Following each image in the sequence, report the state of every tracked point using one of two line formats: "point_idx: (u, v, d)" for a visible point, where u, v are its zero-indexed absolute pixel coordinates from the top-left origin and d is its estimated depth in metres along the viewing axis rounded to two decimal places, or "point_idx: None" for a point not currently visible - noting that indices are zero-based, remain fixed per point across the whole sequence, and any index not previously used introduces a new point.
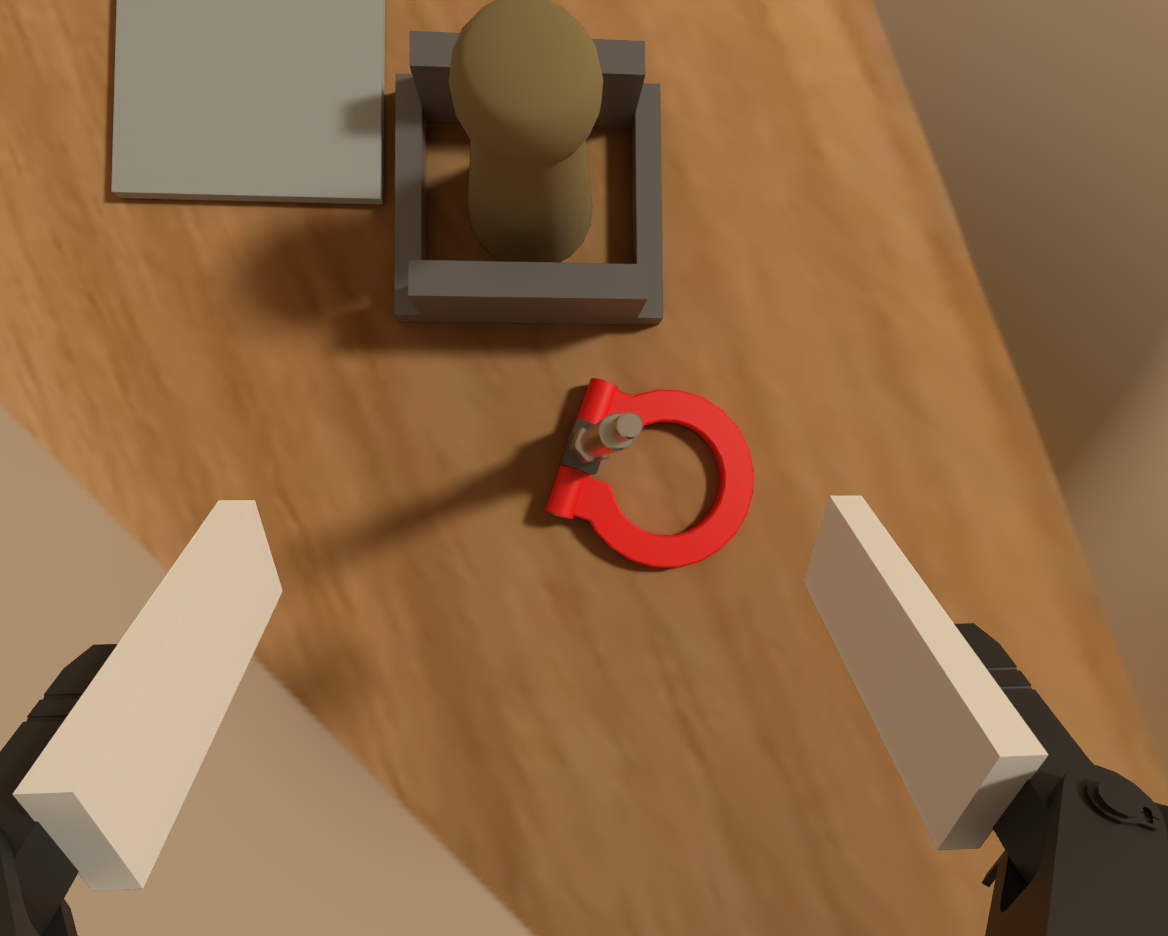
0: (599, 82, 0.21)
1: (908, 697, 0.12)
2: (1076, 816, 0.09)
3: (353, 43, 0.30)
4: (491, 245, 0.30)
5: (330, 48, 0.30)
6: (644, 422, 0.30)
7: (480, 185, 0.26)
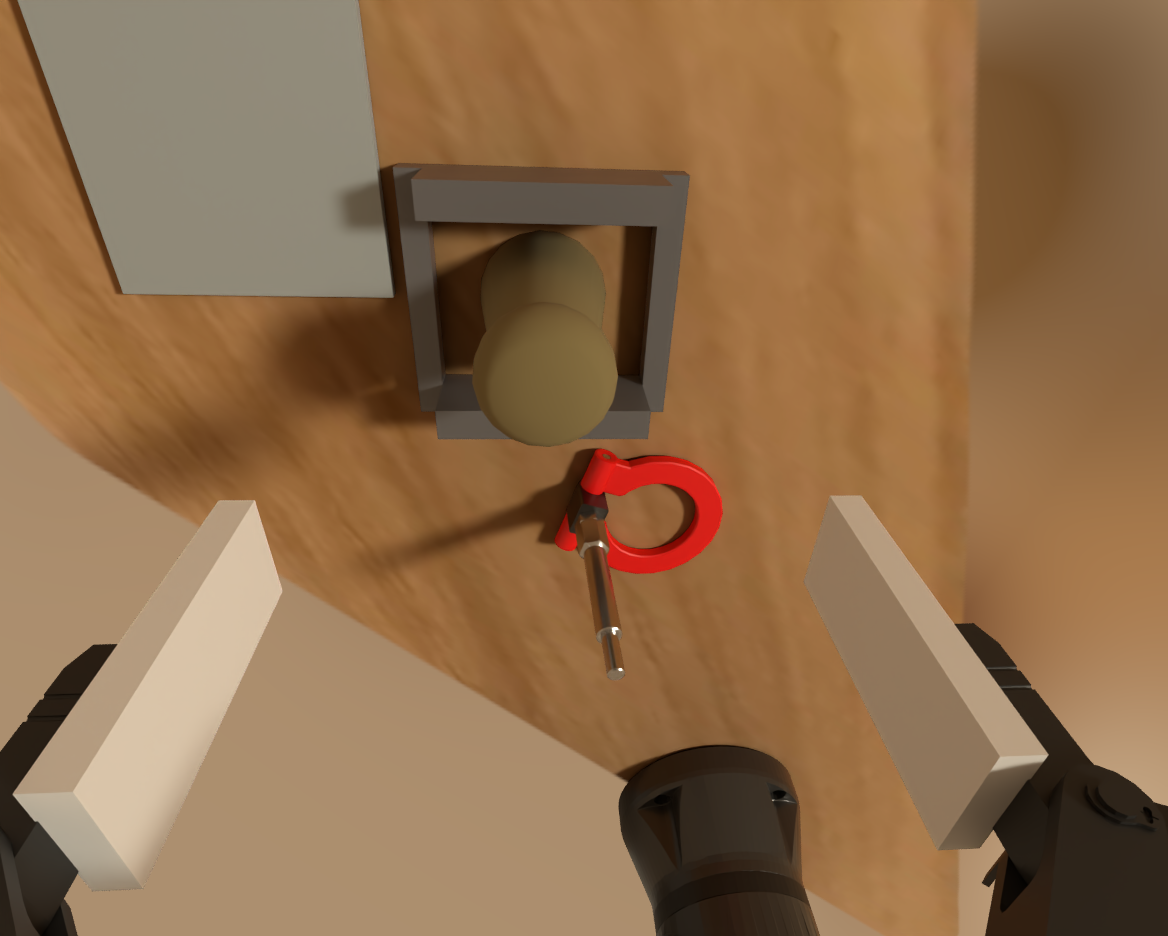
0: (613, 394, 0.23)
1: (908, 697, 0.12)
2: (1076, 816, 0.09)
3: (336, 114, 0.26)
4: None
5: (310, 122, 0.26)
6: (637, 486, 0.36)
7: None
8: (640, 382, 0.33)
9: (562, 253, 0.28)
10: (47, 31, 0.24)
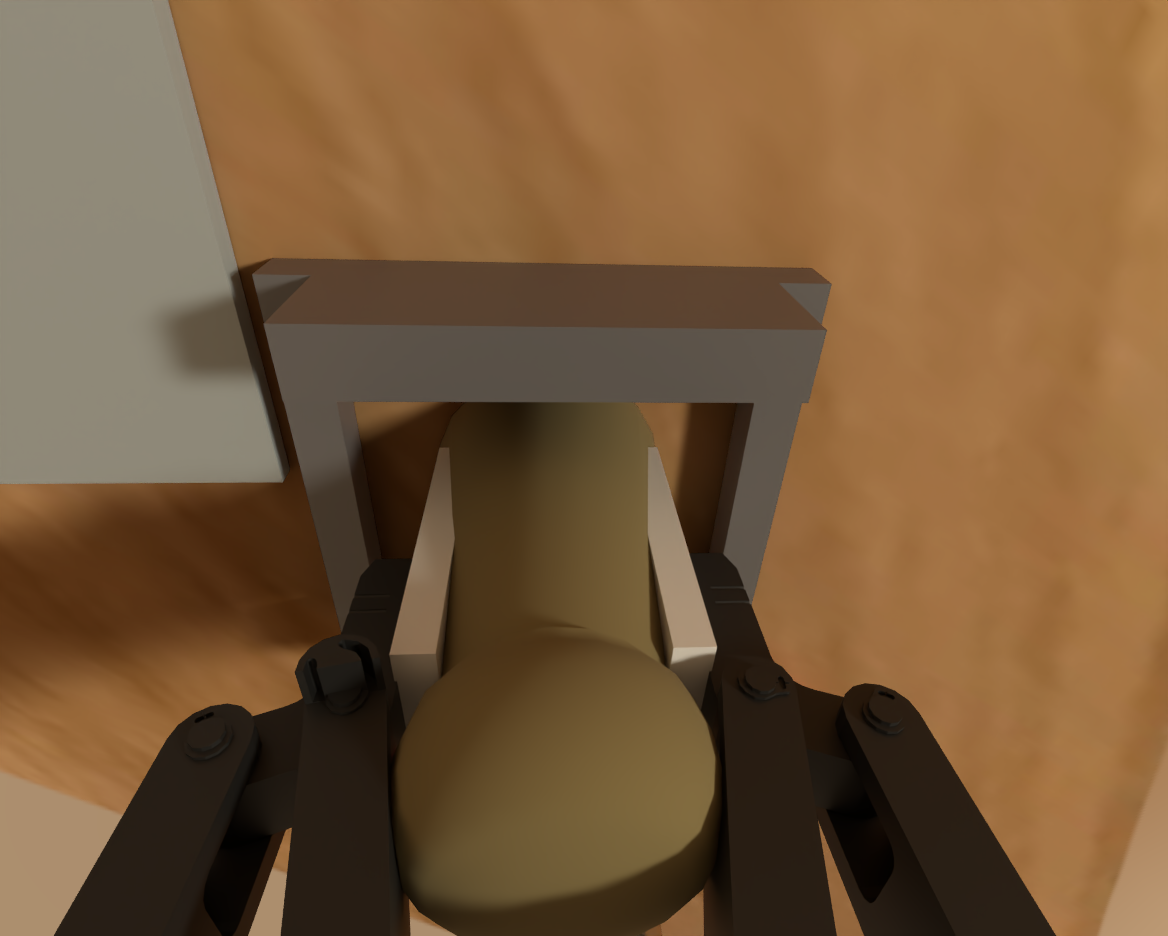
0: None
1: None
2: (735, 708, 0.10)
3: (130, 172, 0.13)
4: None
5: (79, 187, 0.13)
6: None
7: None
8: None
9: (587, 427, 0.15)
10: None
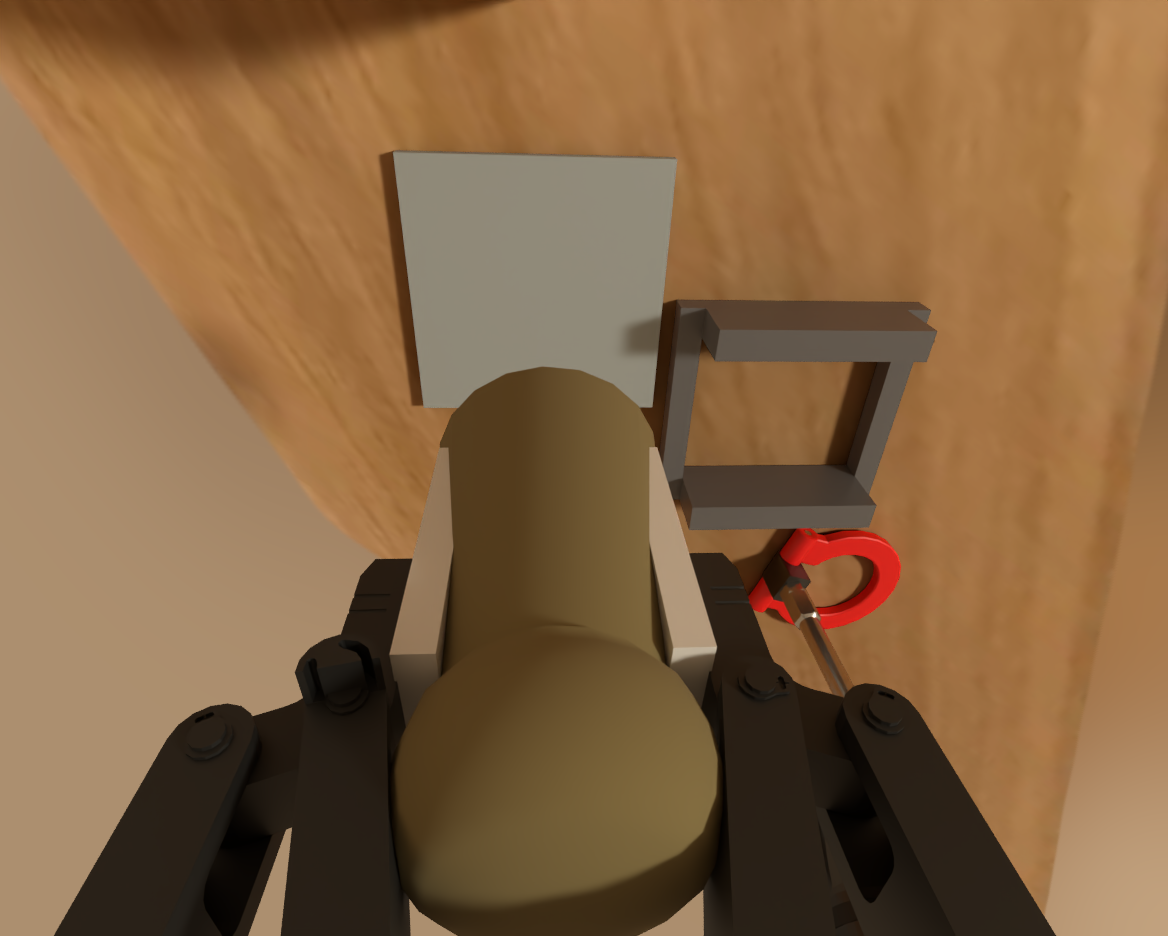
0: None
1: None
2: (735, 708, 0.10)
3: (638, 265, 0.30)
4: None
5: (615, 272, 0.30)
6: (831, 557, 0.40)
7: None
8: (851, 472, 0.37)
9: (587, 426, 0.14)
10: (414, 207, 0.28)
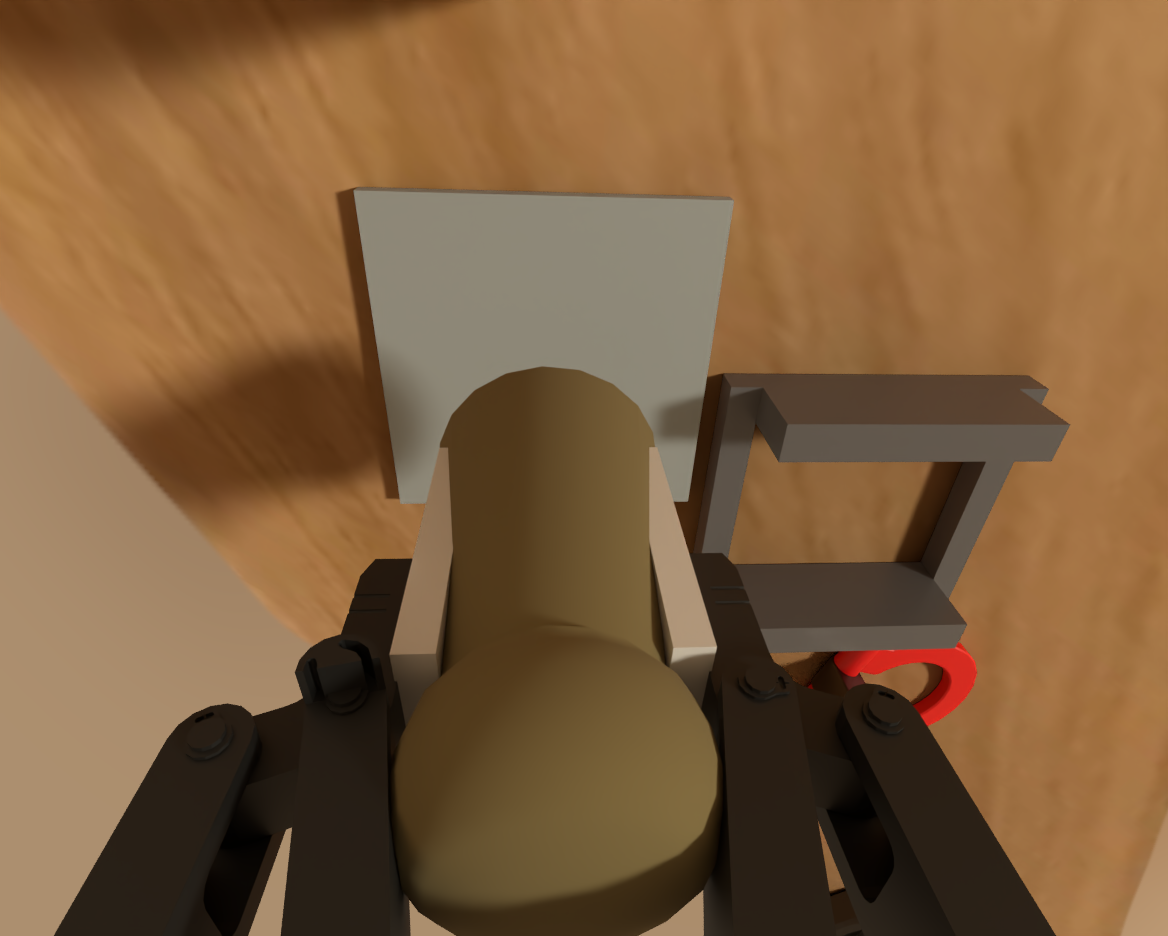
0: None
1: None
2: (735, 708, 0.10)
3: (678, 334, 0.23)
4: None
5: (647, 342, 0.23)
6: None
7: None
8: (928, 574, 0.30)
9: (587, 426, 0.14)
10: (384, 261, 0.21)
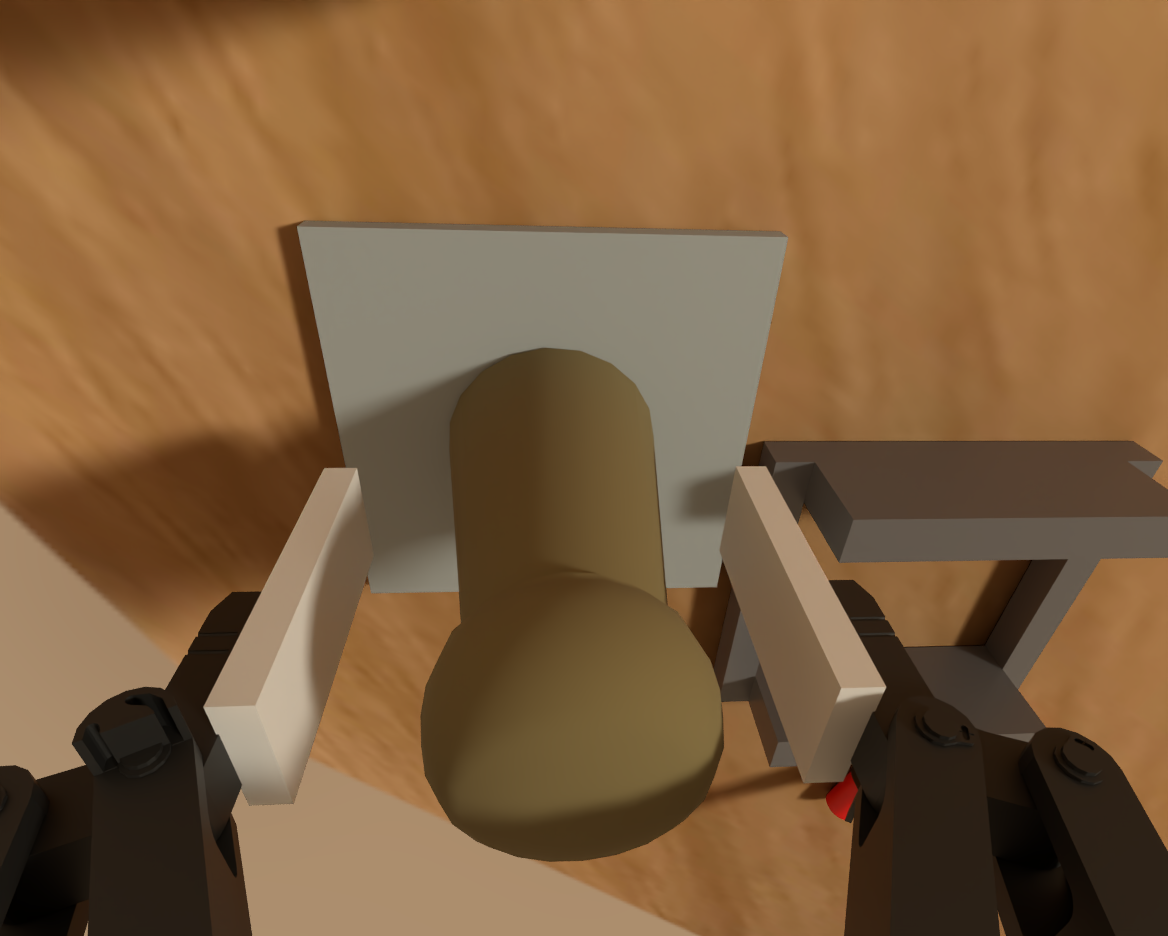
0: None
1: (785, 646, 0.13)
2: (909, 747, 0.10)
3: (711, 399, 0.18)
4: None
5: (673, 408, 0.19)
6: None
7: None
8: (996, 662, 0.26)
9: (589, 401, 0.16)
10: (340, 314, 0.16)
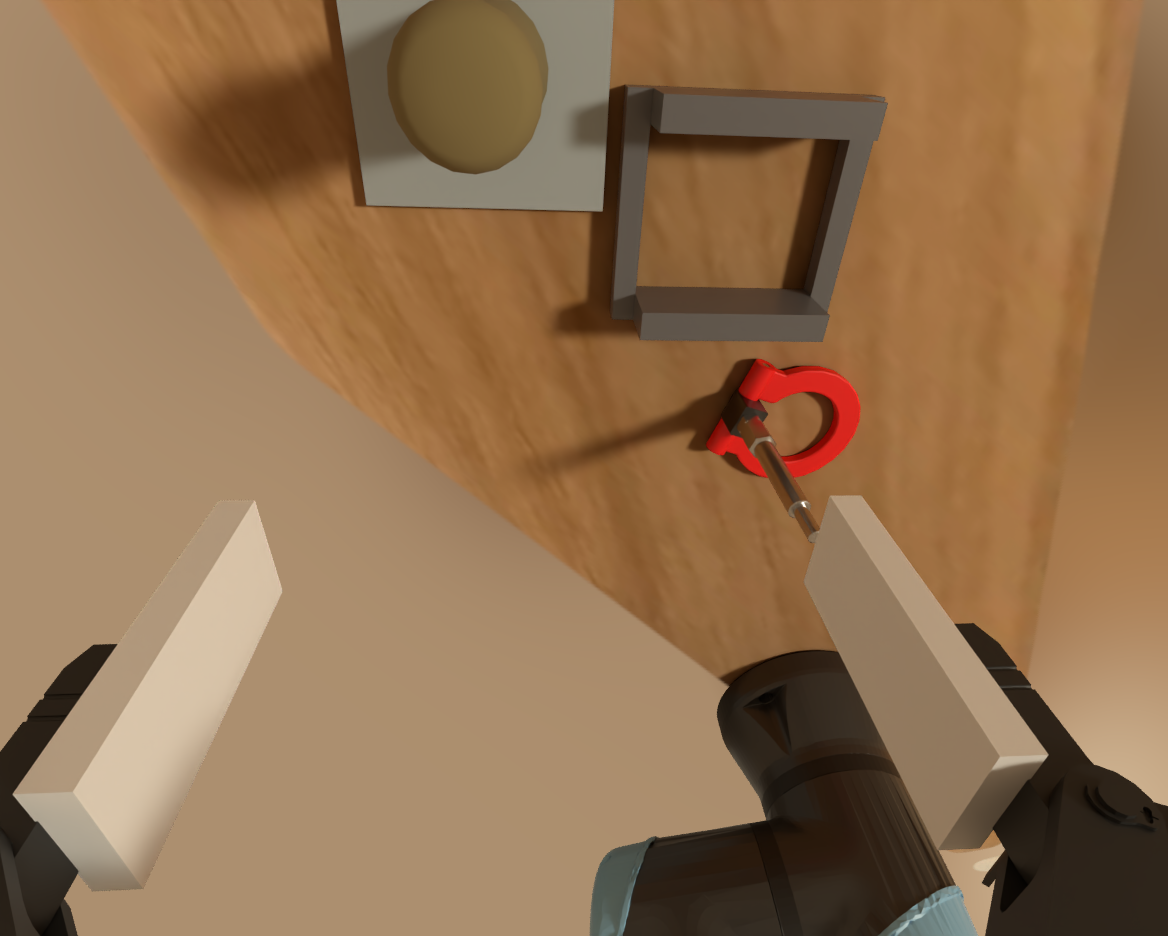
0: (537, 105, 0.21)
1: (908, 697, 0.12)
2: (1076, 816, 0.09)
3: (583, 37, 0.29)
4: None
5: (559, 44, 0.29)
6: (790, 394, 0.40)
7: None
8: (807, 294, 0.36)
9: (496, 1, 0.26)
10: None
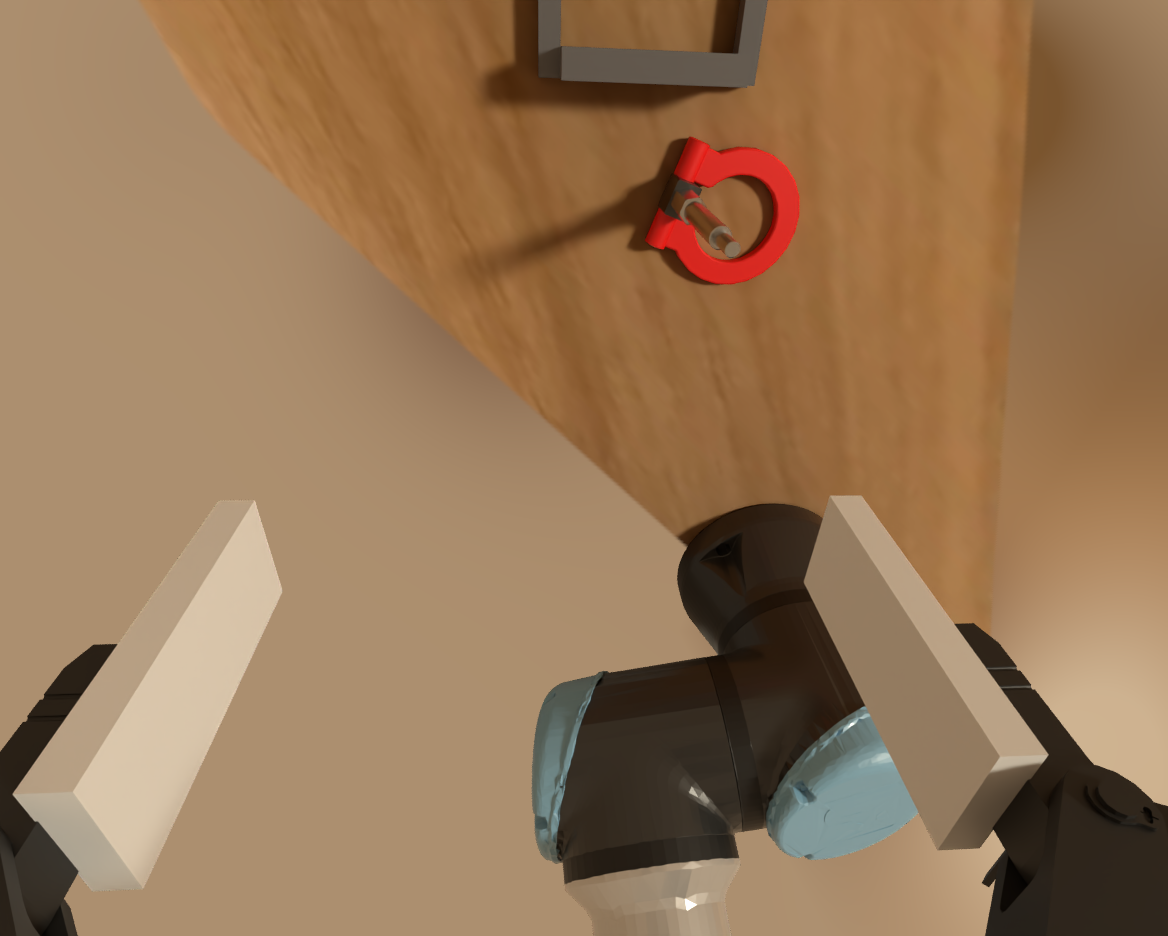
0: None
1: (908, 697, 0.12)
2: (1076, 816, 0.09)
3: None
4: None
5: None
6: (725, 176, 0.40)
7: None
8: (735, 53, 0.36)
9: None
10: None
